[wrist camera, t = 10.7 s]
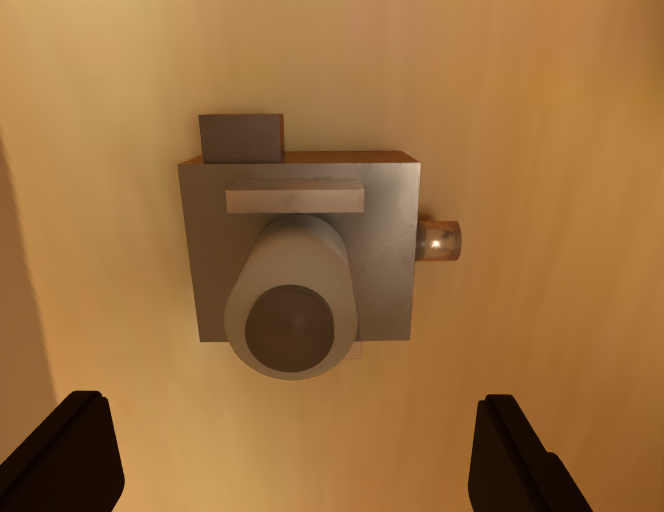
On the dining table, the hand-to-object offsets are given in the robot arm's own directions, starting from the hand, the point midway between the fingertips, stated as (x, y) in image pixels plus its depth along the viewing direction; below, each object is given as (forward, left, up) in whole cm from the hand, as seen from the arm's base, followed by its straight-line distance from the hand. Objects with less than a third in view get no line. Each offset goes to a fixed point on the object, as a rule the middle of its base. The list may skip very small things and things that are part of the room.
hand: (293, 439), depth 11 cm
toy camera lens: (+1, 0, -13) cm, 13 cm away
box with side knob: (-1, -1, -19) cm, 19 cm away
